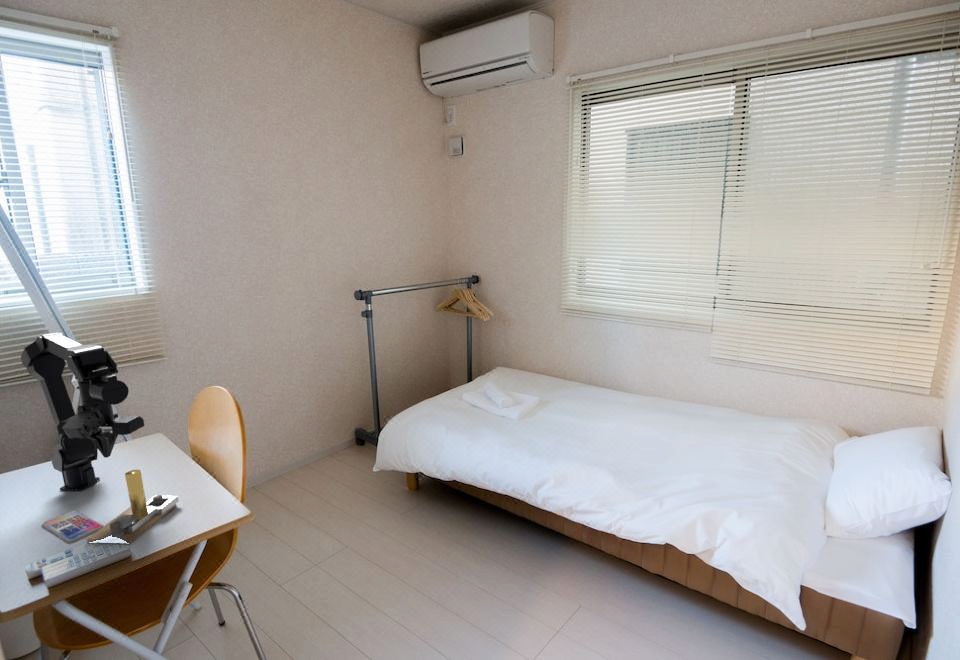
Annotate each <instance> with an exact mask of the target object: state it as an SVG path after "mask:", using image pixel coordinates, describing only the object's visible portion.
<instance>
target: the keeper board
mask: <svg viewBox="0 0 960 660" xmlns="http://www.w3.org/2000/svg"><path fill="white" fill-rule="evenodd" d="M154 496H155V495H154ZM154 496H152V497H153V504H154V506H161V505H162V504H163V498H162V496H163V495H160V494H159V495H157V494H156V496H155V497H154ZM147 501H148V500H146V502H147ZM176 506H177V503H176V504H175V505H174V506H172V507H171V508H170V509H169V510H168V511H166V512H165V513H164V514H163V515H155V516H153V517H152V518H151V519H150V520H148V521H147V522H146V523H145V524H144V525H142V526H141V527H140V528H139V529H137V530H136V531H135V532H134V533H124V530H123V528H125V527H127V526H128V525H129V524H130V523H132V522H133V521H134V520H136V515H132V509H131V506H129V507H128V508H126V509H125V510H124V511H123V512H121V513H120V514H119V515H117V516H116V517H114V518H113V519H112V520H111V521H109V522H108V523H106V524H105V525H103V526H104V527H102V528H101V529H100V530H98V531H97V532H95V533H93V534H91V535H89V537H88V538H86V542H87V544H90V543H89V542H93V541H96V540H101V539H104V538H106V537H108V536H111V535H112V537H117V538H120V539H122V540H124V541H126V542H127V543H129V544H128V545H130V544H132V543H133V542H134V541H135V540H136V539H138V538H139V537H140V536H141V535H143V534H145V532H147V530H149V529H150V528H152V527H153V525H155V524H156V523H157V522H158V521H159V520H160V519H162V518H163V517H164V516H165V515H167V514H168V513H169V512H170V511H172V509H174V508H175V507H176Z"/></svg>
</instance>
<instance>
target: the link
mask: <svg viewBox="0 0 960 660" xmlns="http://www.w3.org/2000/svg"><path fill="white" fill-rule="evenodd" d="M124 476H125V477H124V478H125V482H126V487H127V492H128V497H129V503H130V507H131V509H132V515H136V520H134V521H133V522H132V523H130V524H129V525H128V526H127V527H125V528H123V530H124V533H134V532H135V531H136V530H137V529H139V528H140V527H141V526H142V525H144V524H145V523H146V522H147V521H148V520H150V519H151V518H152V517H153V516H155V515H163V514H164V513H165V512H166V511H168V510H169V509H170V508H171V507H172V506H174V505H175V504H176V505H177V504H178V502H179V497H178V495H162V498H163V504H162V505H161V506H154V504H153V497H155V496H157V494H156V495H154V496H152V497H151V498H150V499H148V500H147V499H146V494H145V488H144V482H143V477H142V472H141V470H140V469H132V470H129V471H127V472H125V474H124ZM146 501H147V502H146Z"/></svg>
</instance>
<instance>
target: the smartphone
mask: <svg viewBox="0 0 960 660" xmlns="http://www.w3.org/2000/svg"><path fill="white" fill-rule="evenodd" d="M104 526H105V525H103V524H101V523H100V522H98V521H96V520H94V519H92V518H90V517H89V516H87V515H85V514H83V513H82V512H79V511H78V510H72V511H68V512H66V513H64V514H61V515H59V516H56V517H54V518H51V519H49V520H46V521H44V522H43V523H41V527H42V528H43V529H45V530H46V531H48V532H50V533H52V534H53V535H55V536H56V537H58V538H59V539H60V540H62V541H64V542H66V543H67V544H72V543H75V542H78V541H81V540H82V539H85V538H87V537H88V536H89V537H90V536H92V535H93V534H94V533H96V532H97V531H98V530H100V529H101V528H102V527H104Z"/></svg>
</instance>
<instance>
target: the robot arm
mask: <svg viewBox="0 0 960 660" xmlns="http://www.w3.org/2000/svg"><path fill="white" fill-rule="evenodd" d="M20 361H21V363H22V366H23V367H24V368H26V370H27V373H28V374H29V376H31V377H32V378H34V379H36V380H37V381H38V382H39V383H40V385H41V388H42V391H43V394H44V396H45V399H46V402H47V405H48V407H49V408H48V409H49V410H50V413H51V416H52V419H53V422H54V425H55V427H56V429H57V437H56V439H55V442H54V449H55V451H54V454H53V456H52V459H51V464H52V466H53V469H54V470H55V471H56V470H57V471H58V472H60V473H61V475H62V479H63V484H64V485H63V486H61V487H60V488H59V490H60V491H78V492H79V491H83V490H85V489H87V488H88V487H89V486H91V485H93V484H95V483H96V482H98V481H99V480H100V477H99V476H98V477H97V476H96V473H95V469H94V466H93V464H92V462H94V461H96V460H98V456H99V455H98V453H99V452H100V453H101V455H102V456H103V458H109V457H110V456H111V454H112V452H113V449H114V448H115V447H114V446H115V444H116V440H117V438H118V436H120V435H122V436H125V435H130V434H132V433H134V432H136V431H138V430H139V429H141V428H143V427H145V426H146V425H145V421H144V418H143V417H142V416H141V415H126V416H124V417H123V418H120V419H119V420H118V419H117V418H119V414H118V413H119V412H117V413H115V412H114V409H113V405H119V404H121V403H123V402H124V401H125V400H126V399H127V397H128V395H129V387H128V386H127V384H126V383H125V382H124V381H121V380H118V377H117V374H119V370H118V369H117V368H118V365H117V363H116V362H115V360H114V358H113V357H112V356H111V355H110V353H109V352H108V351H107V349H106V348H104V347H103V346H101V345H98V344H97V345H96V344H85V345H84V344H82V343H79V342H77V341H75V340H73V339H70V338H69V337H67V336H65V335H64V333H62V332H51V333H44V334H41V335H39V336H37V337H36V339H35V341H33V342H31V343H30V344H29V345H27V346H26V347H24V348H23V351H22V353H21V356H20ZM66 364H67V368H68V369H69V370H70V371H71V373H72V375H74V379H75V380H77V384H78V385H77V386H78V391H79V395H80V399H81V404H79V405H77V414H76V412H75V409H74V406H73V403H72V401H71V399H70V395H69V393H68V390H67V387H66V384H65V381H64V378H63V373H64V371H65V368H66ZM98 450H99V452H98Z"/></svg>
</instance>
